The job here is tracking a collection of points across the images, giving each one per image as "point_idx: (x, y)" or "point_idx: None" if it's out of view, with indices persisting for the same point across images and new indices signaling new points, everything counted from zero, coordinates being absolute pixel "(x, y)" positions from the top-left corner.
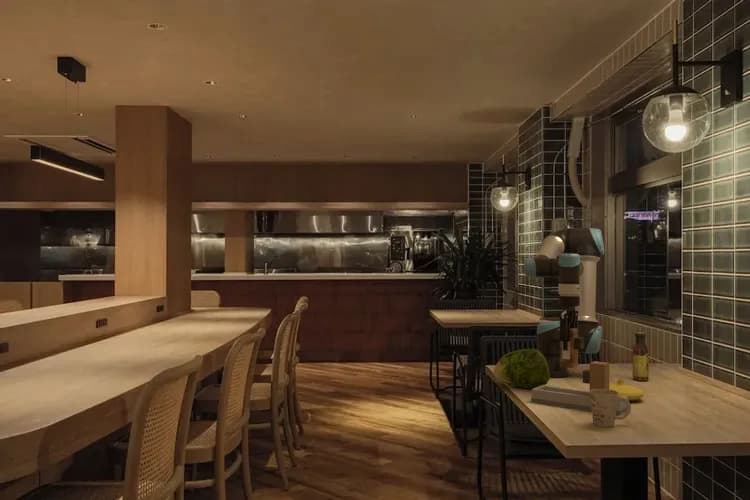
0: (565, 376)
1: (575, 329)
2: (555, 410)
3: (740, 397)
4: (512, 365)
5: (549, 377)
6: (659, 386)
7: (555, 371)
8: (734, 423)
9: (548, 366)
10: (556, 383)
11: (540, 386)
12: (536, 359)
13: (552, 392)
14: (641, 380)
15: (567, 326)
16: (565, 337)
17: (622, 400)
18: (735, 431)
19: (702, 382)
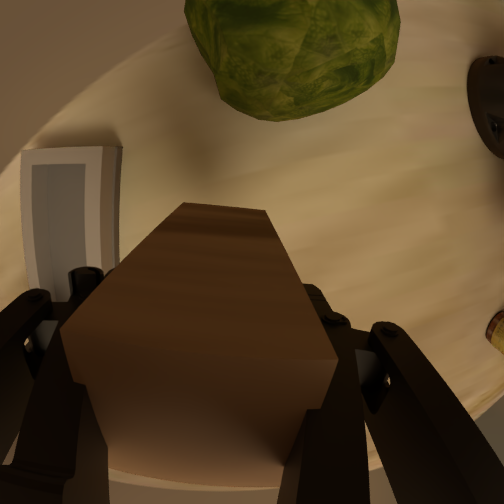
0: (492, 151)
1: (189, 481)
2: (10, 242)
3: (377, 467)
4: None
5: (291, 119)
6: (446, 373)
7: (490, 121)
8: (169, 484)
9: (496, 98)
10: (408, 130)
11: (76, 151)
12: (223, 44)
13: (22, 226)
14: (487, 332)
15: (5, 453)
16: (27, 355)
17: None
18: (123, 479)
19: (481, 400)
